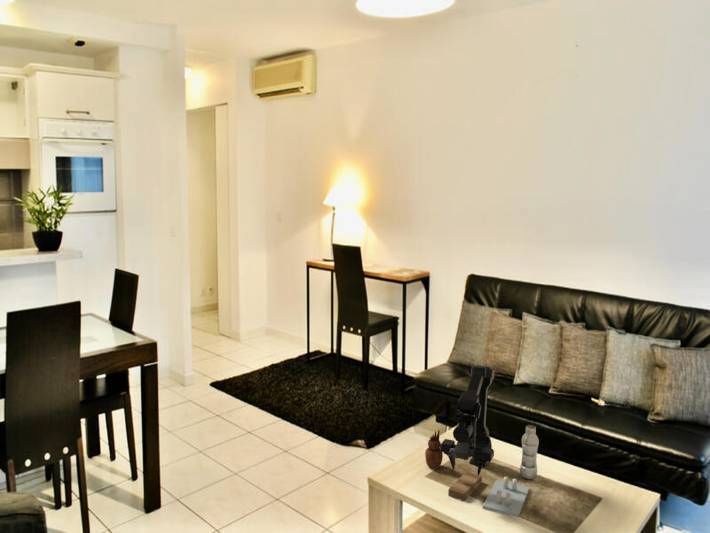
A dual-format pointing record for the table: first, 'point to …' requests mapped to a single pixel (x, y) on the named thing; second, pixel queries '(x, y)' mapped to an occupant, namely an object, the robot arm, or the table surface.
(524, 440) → the plastic bottle
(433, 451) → the wooden figurine
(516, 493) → the peg stand
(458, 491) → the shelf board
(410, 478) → the table surface
